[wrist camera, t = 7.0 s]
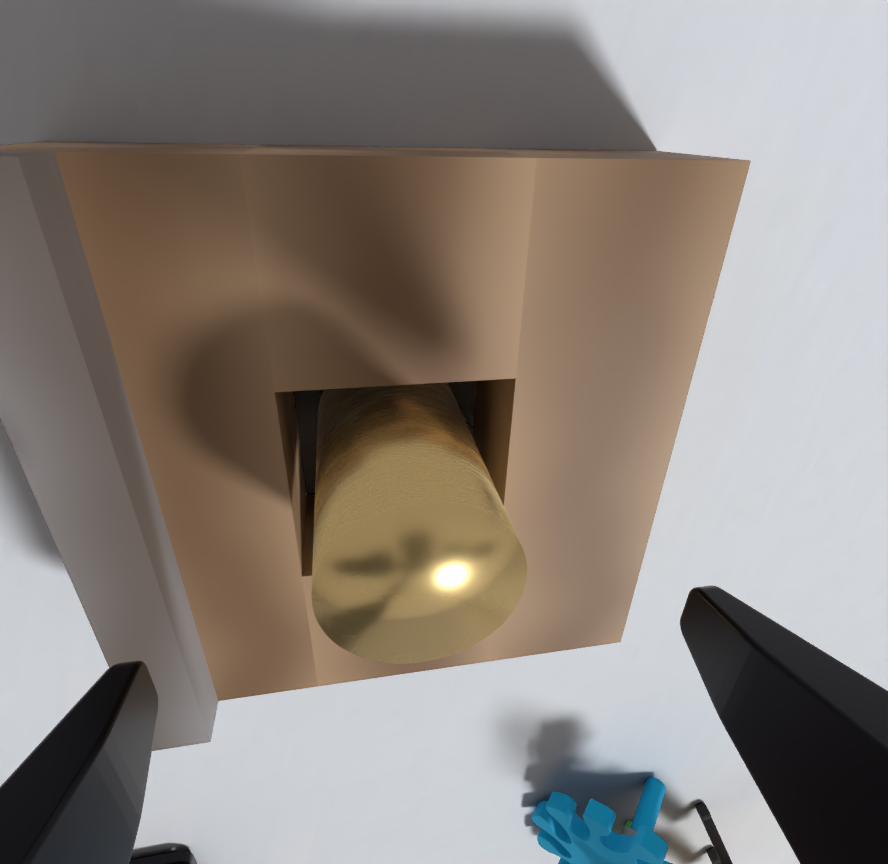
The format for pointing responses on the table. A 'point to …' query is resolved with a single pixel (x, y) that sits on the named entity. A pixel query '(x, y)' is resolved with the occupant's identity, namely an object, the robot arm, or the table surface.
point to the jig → (339, 375)
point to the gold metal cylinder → (407, 527)
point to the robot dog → (713, 837)
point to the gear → (601, 830)
